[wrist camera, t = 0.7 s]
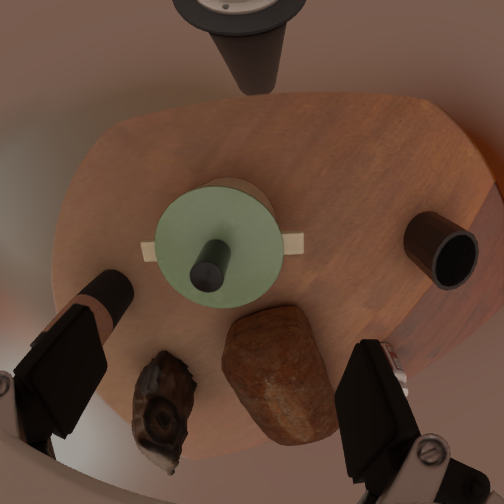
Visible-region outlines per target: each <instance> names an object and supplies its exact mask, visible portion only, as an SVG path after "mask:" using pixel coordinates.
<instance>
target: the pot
mask: <svg viewBox="0 0 504 504" xmlns="http://www.w3.org/2000/svg"><path fill="white" fill-rule="evenodd" d="M216 185H219V186H228V187H232V188H236V189H239V190H242V191H244V192H246V193H248V194H250V195H252V196H253V197H255V198H256V199H258V200H259V201H260V202H261V203H262V204H263V205H265V206H266V207H267V208H268V210H269V211H270V212H271V214H272V215H273V216H274V218H275V220H276V215H275V211H274V209H273V207H272V205H271V203H270V201H269V199H268V197H267V196H266V195H265V194H264V193H263V192H262V191H261V190H260V189H259V188H257V187H256V186H255V185H253V184H252V183H249V182H247V181H244V180H241V179H237V178H219V179H213V180H211V181H210V182H208V183H206V184H204V185H202V186H200V187H205V186H216ZM200 187H198V188H200ZM281 234H282V238H283V246H284V255H291V254H304V232H303V230H292V231H281ZM141 248H142V252H143V257H144V261H145V262H150V261H157V259H156V254H155V239H145V240H143V241H142V242H141Z"/></svg>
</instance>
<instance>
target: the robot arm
mask: <svg viewBox="0 0 504 504" xmlns="http://www.w3.org/2000/svg"><path fill="white" fill-rule="evenodd" d="M197 1H198V2H199V3H200V4H201V5H202V6H203V7H205V8H207V9H209V10H211V11H214V12H217V13H222V14H229V15H240V14H249V13H254V12H257V11H260V10H263V9H265V8H267V7H269V6H271V5H273V4H274V3H275V2H277V1H278V0H197ZM226 8H228V9H226ZM106 371H107V361H106V357H105V354H104V351H103V347H102V343H101V340H100V336H99V332H98V328H97V324H96V320H95V316H94V313H93V311H91V309H90V307H89V306H86V305H82V304H78V303H74V304H73V305H72V306H71V307H70V308H69V309H68V310H67V311H66V312H65V313H64V314H63V315H62V316H61V317H60V318H59V319H58V320H57V321H56V322H55V324H54V325H53V326H52V327H51V328H50V329H49V330H48V331H47V332H46V333H45V334H44V335H43V337H42V338H41V339H40V340H39V341H38V342H37V343H36V344H35V345H34V347H33V348H32V349H31V350H30V351H29V352H28V354H27V355H26V356H25V357H24V358H23V359H22V361H21V362H20V363H19V364H18V365H17V367H16V368H15V369H14V370H13V372H14V374H15V376H14V377H12V376H11V374H9V373H8V372H6V371H0V504H175V503H171V502H166V501H162V500H158V499H154V498H151V497H147V496H143V495H140V494H137V493H134V492H130V491H128V490H125V489H121V488H118V487H116V486H113V485H110V484H108V483H105V482H102V481H100V480H97V479H95V478H92V477H90V476H88V475H86V474H83V473H81V472H79V471H77V470H75V469H72V468H70V467H68V466H66V465H64V464H62V463H60V462H58V461H56V458H55V454H54V450H53V446H52V442H51V438H50V437H51V435H52V433H53V434H55V435H57V436H59V437H61V438H63V439H66V437H67V435H68V434H71V433H72V432H73V429H74V428H75V426H76V424H77V422H78V420H79V418H80V416H81V415H82V413H83V411H84V409H85V408H86V406H87V404H88V402H89V400H90V399H91V397H92V395H93V393H94V392H95V390H96V388H97V386H98V385H99V383H100V381H101V379H102V378H103V376H104V374H105V373H106ZM334 403H335V408H336V413H337V418H338V423H339V428H340V434H341V439H342V445H343V450H344V456H345V462H346V468H347V473H348V476H349V477H352V478H353V483H354V484H357V483H363V482H365V487H366V492H365V493H364V495H363V496H362V498H361V499H360V500H359V502H358V503H357V504H504V499H503V498H502V497H501V496H500V495H498V494H497V493H496V492H495V491H492V492H490V482H489V479H488V478H487V476H486V475H485V474H483V473H482V472H480V471H478V470H476V469H474V468H471V467H469V466H467V465H465V464H463V463H461V462H459V461H456V460H454V459H452V458H450V455H451V452H450V447H449V445H448V443H447V442H446V441H445V439H444V438H442V437H441V436H439V435H436V434H432V433H431V434H424V435H421V434H420V431H419V429H418V426H417V423H416V421H415V418H414V416H413V413H412V411H411V408H410V406H409V404H408V401H407V399H406V396H405V394H404V392H403V389H402V387H401V385H400V383H399V380H398V378H397V377H396V376H395V374H394V372H393V370H392V368H391V365H390V363H389V361H388V359H387V357H386V355H385V352H384V350H383V348H382V346H381V344H380V342H379V340H377V339H363V340H361V341H360V343H357V344H356V345H355V347H354V349H353V352H352V354H351V357H350V359H349V362H348V364H347V367H346V369H345V371H344V374H343V376H342V378H341V381H340V383H339V385H338V388H337V390H336V392H335V396H334Z"/></svg>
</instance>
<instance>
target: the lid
mask: <svg viewBox="0 0 504 504" xmlns="http://www.w3.org/2000/svg"><path fill="white" fill-rule="evenodd" d="M155 254H156V259H157V262H158V265H159V267H160V270H161V272H162V273H163V275H164V277H165V278H166V280H167V281H168V282H169V284H170V285H171V286H172V287H173V288H174V289H175V290H176V291H177V292H179V293H180V294H181V295H183V296H184V297H186V298H187V299H189V300H191V301H193V302H195V303H198V304H200V305H203V306H207V307H213V308H234V307H239V306H242V305H245V304H248V303H250V302H252V301H254V300H256V299H257V298H259V297H261V296H262V295H263V294H264V293H265V292H267V290H268V289H269V288H270V287H271V286H272V285H273V283H274V282H275V280H276V279H277V277H278V275H279V273H280V270H281V267H282V263H283V258H284V246H283V238H282V234H281V231H280V228H279V226H278V223H277V222H276V220H275V218H274V216H273V215H272V214H271V212H270V211H269V210H268V208H267V207H266V206H265V205H263V204H262V203H261V202H260V201H259V200H258V199H256V198H255V197H253V196H252V195H250V194H248V193H246V192H244V191H242V190H239V189H236V188H232V187H228V186H219V185H216V186H205V187H200V188H196V189H193V190H191V191H189V192H187V193H185V194H183V195H182V196H180V197H179V198H177V199H176V200H175V201H174V202H172V203H171V204H170V205H169V207H168V208H167V209H166V210H165V212H164V213H163V215H162V216H161V218H160V221H159V223H158V225H157V229H156V233H155Z"/></svg>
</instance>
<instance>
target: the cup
mask: <svg viewBox="0 0 504 504" xmlns="http://www.w3.org/2000/svg"><path fill="white" fill-rule="evenodd" d="M404 249H405V252H406V254H407V256H408V257H409V258H410V259H411V260H412V261H413V262H414V263H415V264H416V265H417V266H418V267H419V268H420V269H421V270H422V271H423V272H424V273H425V274H426V275H427V276H428V277H429V278H430V279H431V280H432V282H433V283H434V284H435V285H436V286H437V287H438V288H440V289H443V290H446V291H447V290H452V289H456V288H458V287H459V286H461V285H462V284H464V283H465V282H466V281H467V279H468V278H469V277H470V276H471V274H472V273H473V271H474V269H475V267H476V265H477V260H478V255H479V249H478V242H477V240H476V238H475V237H474V235H473V234H472V233H470V232H469V231H467V230H465V229H464V228H462V227H460V226H459V225H457V224H455V223H454V222H452V221H450V220H448V219H446V218H445V217H443V216H441V215H439V214H437V213H435V212H431V211H427V212H422V213H420V214H418V215H417V216H416V217H414V218H413V219H412V221H411V222H410V223H409V225H408V227H407V229H406V231H405V235H404Z"/></svg>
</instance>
